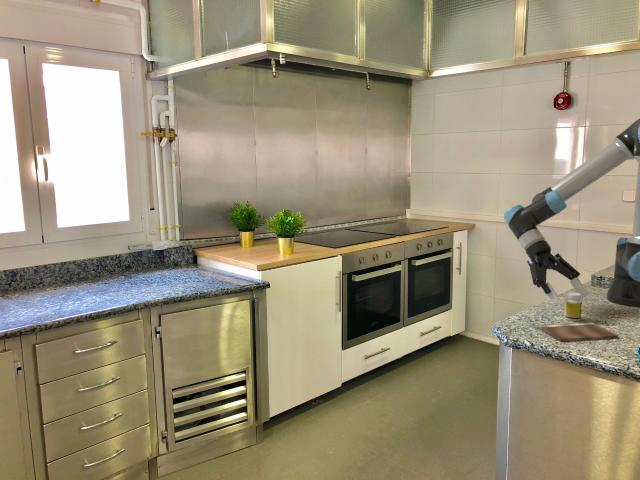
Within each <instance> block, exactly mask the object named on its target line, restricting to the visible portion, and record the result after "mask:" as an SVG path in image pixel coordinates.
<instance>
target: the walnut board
mask: <svg viewBox="0 0 640 480" xmlns="http://www.w3.org/2000/svg"><path fill="white" fill-rule="evenodd" d="M536 328H537V330H540V331H541V332H543V333H545V334H546V335H548V336H549V337H551V338H553V339H555V340H557V341H558V342H560V343H561V342H562V343H563V342H574V341H575V342H576V341H577V342H579V341H592V340H593V341H594V340H609V339H618V338H619V335H618V334H616V333H614V332H612V331H609V330H608V329H606V328H604V327H601V326H599V325H598V324H595V323H594V322H591V321H589V322H588V321H586V322H572V323H554V324H553V323H552V324H538V325H536Z"/></svg>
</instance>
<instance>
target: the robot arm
mask: <svg viewBox="0 0 640 480" xmlns="http://www.w3.org/2000/svg"><path fill="white" fill-rule="evenodd" d="M627 160H636V161H637V163H638V165H637V176H636V188H635V189H636V190H635V203H634V212H633V213H634V214H633V225H632V235H631V236H629V237H619V238H618V239H617V242H616V246H615V248H616V249H615V251H616V252H615V260H614V261H615V262H614V271H613V272H614V273H613V274H614V275H613V279H612V281H611V283H610V286H609V289H608V290H607V292H606V300H608V301H610V302H612V303H614V304H619V305H622V306H628V307H629V306H631V307H640V118H638V119H636V120H635V121H633V123H631V125H629V126H628V127H627V128H626V129H624V130H623V131H622V132H621V133H619V134H618V135H617V136H615V137H613V142H612V143H610V144H609V145H607V146H606V147H604V148H603V149H602V150H600V151H598V152H597V153H596V154H595V155H593V156H592V157H590V158H588V159H587V160H586V161H584V162H583V163H582V164H580V165H579V166H577V167H576V168H575V169H573V170H571V171H570V172H569V173H567V174H566V175H565V176H563V177H561V178H560V179H558V180H557V181H556V182H555V183H553V184H551V185H550V186H549V187H547V188H546V189H544V190H543V191H541V192H539V193H537V194H536V195H534V196H533V198H532V200H531V203H530V204H529V205H527V206H525V207H524V206H523V205H521V204H516V205H514V206H511V207H509V208H508V209H507V210H506V211H505V213H504V214H503V218H504V220H505V223H506V224H507V226H508V227H509V229H510V230H511V233H513V235H514V236H515V239H516V240H518V243H519V244H520V246H521V247H522V248H523V250H524V251H525V254H526V255H527V257H528V258H529V259H528V260H527V261H526V263H527V264H528V266H529V270H530V275H531V279H532V284H533V285H534V286H536V287H537V288H538V289H540V288H541V289H542V290H543V293H544V294H546V296H547V297H548V299H549V300H550V302H551V304H552V305H555V304H556V303H557V302H559V301H560V300H561V299H560V297H559V295H558V294H557V292H556V291H555V289H554V287H553V286H552V285H551V283H550V282H549V281H547V270H552V271H556V272H558V273H559V274H560V275H561V276H562V277H563V276H564V277H565V278H566V279H568V280H569V283H570V284H571V286H572V287H573V289H574V290H575V292H576V293H580V294H581V299H583V298H585V297H587V296H588V295H589V293H588V291H587V290H586V289H585V287H584V286H583V283H582V282H581V281H580V279H579V277H580V276H581V273H580V271H578V270H577V269H576V268H575V267H574V266H572V265H571V264H570V263H569V262H568V261H567V260H566V259H564V258H563V257H562V255H561V254H560V253H556V254H555V255H553V253H552V252H551V251H552V247H551V246H550V244H549V243H548V241H547V240H545V237H544V235H543V234H542V233H541V231H540V230H539V228H538V227H537V226H539V225H541V224H542V223H544V222H546V221H548V220H549V219H551V218H553V217H555V216H556V215H558V214H560V213H561V212H563V211H564V210H565V209H566V208H567V203H566V201H568V200H570V199H571V198H572V197H574V196H575V195H577V194H579V193H580V192H581V191H583V190H584V189H586V188H587V187H589V186H590V185H592V184H594V182H596V181H598V180H599V179H601V178H602V177H604V176H605V175H607V174H608V173H610V172H611V171H613V170H614V169H615V168H617V167H619V166H620V165H622V164H623V163H625V162H626V161H627Z"/></svg>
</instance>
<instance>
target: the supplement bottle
mask: <svg viewBox="0 0 640 480" xmlns="http://www.w3.org/2000/svg"><path fill="white" fill-rule="evenodd" d="M582 304H583V301H582V298H581V294H580V293H577V292H576V291H575V292H573V291H570V292H567V294H566V299H565V302H564V317H563V318H564V319H565V320H567V321H571V322H579V321H581V319H582V307H583V306H582Z"/></svg>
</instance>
